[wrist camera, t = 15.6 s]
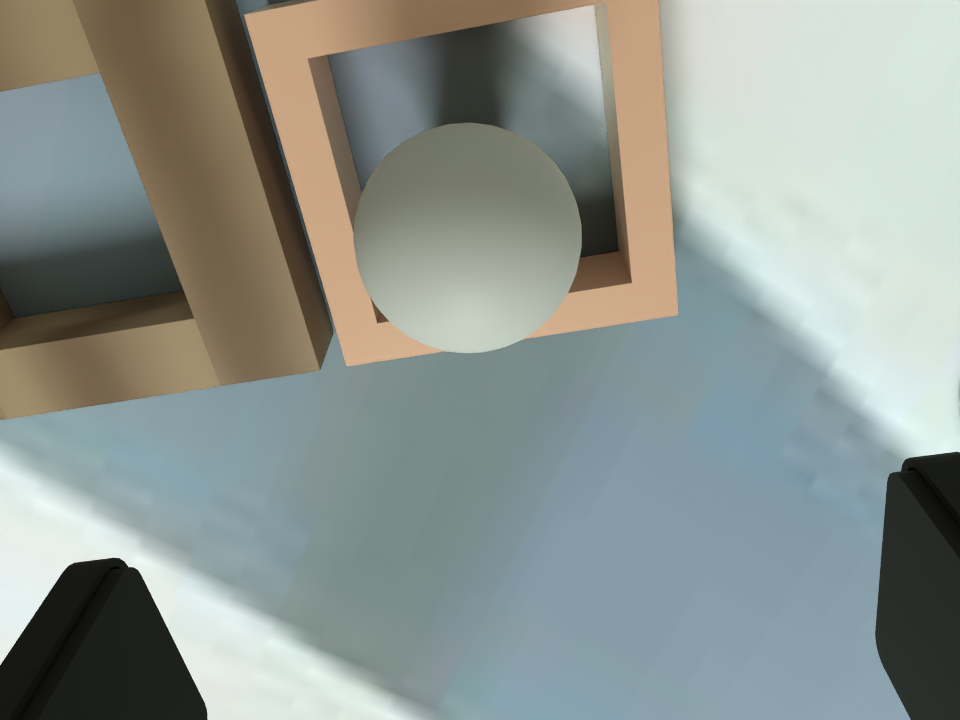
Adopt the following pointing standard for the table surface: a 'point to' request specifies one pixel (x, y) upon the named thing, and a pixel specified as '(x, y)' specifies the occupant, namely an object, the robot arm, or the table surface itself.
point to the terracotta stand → (335, 186)
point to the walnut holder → (170, 211)
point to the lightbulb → (467, 237)
